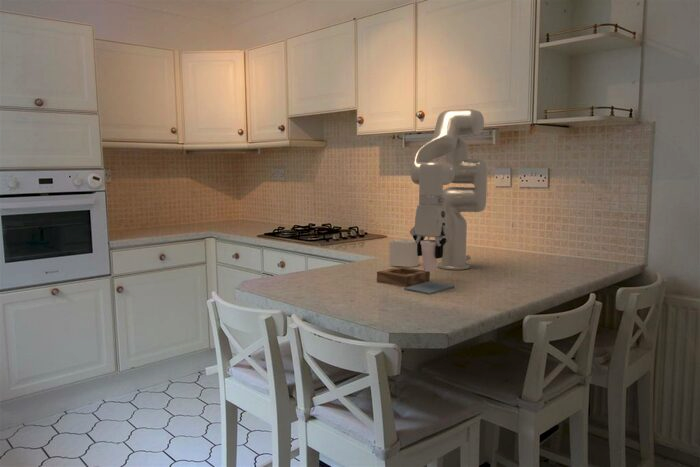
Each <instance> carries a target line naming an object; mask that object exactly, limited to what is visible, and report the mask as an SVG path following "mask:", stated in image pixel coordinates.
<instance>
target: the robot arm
mask: <svg viewBox="0 0 700 467" xmlns="http://www.w3.org/2000/svg"><path fill="white" fill-rule="evenodd" d="M484 126H485V118H484V115H483V113H482V112H481V111H479V110H477V109H476V110H475V109H469V108H468V109H467V108H466V109H465V108H464V109H463V108H462V109H448V110H444V111H442V112H440V114H439V115H438V116H437V119H436V123H435V126H434V127H435V128H434V132H433V135H432V139H431V140H429V141H427V142H425V143H424V145H423V146H421V147H420V148H419V149H418V150H417V152H416V153H415V155H414V158H413V160H412V164H411V169H410V178H411V181H412V182H413V184H415V185H418V186H419V187H418V205H417V207H416V209H415V210H416V211H415V217H414V226H413V227H412V228H411V229H410V230H409V234H410V235H411V236H412V239H414V240H415V241H416V244H417V256H419V257H422V249H421V244H420V241H421V240H426V237H427V238H428V237H430V238H434V240H436V243H437V246H436V247H435V258H437V260H438V259H441V262H438V263H436V267H438V268H439V269H444V270H452V271H457V270H458V271H459V270H462V271H463V270H468V269H470V268H471V267H470V266H471V265H470V264H469V263H468V262H467V261H470V260H471V258H472V257H471V255H467V233H468V232H467V230H468V226H467V225H468V224H467V220H466V219H465V217H464V216H463V214H462V213H481V212H484V210H485V209H486V207H487V206H486V205H487V190H488V168H487V164H486V162H485V161H484V160H483V159H480V158H469V157H468V154H469V153H468V152H469V151H468V150H469V146H468V144H467V142H466V140H465V139H464V138H463V137H462V136H471V135H473V136H475V135H476V136H477V135H480V134H481V133H482V132H483V131H484ZM443 156H445V157H444V158H445V160H444V161H439V162H438V161H432V160H435V159H439V158H441V157H443ZM450 184H459V185H462V184H463V185H467V184H468V185H474V186H473V187H472V186H471V187H470V186H468V187H465V186H454V187H453V186H450V187H449V186H448V187H446V188H444V186H447V185H450Z"/></svg>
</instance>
